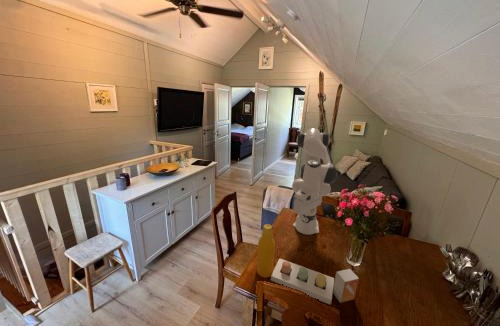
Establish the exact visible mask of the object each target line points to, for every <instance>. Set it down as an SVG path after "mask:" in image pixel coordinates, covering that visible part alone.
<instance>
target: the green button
mask: <svg viewBox="0 0 500 326" xmlns="http://www.w3.org/2000/svg"><path fill="white" fill-rule="evenodd" d="M303 267H304V266H302V267H301V268H299V273H298V278H297V279H298V280H301V281H303V282H307V280H308V279H307V276H308V270H307V269H306V268H307V267H305V268H303Z"/></svg>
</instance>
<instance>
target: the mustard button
mask: <svg viewBox="0 0 500 326" xmlns="http://www.w3.org/2000/svg"><path fill="white" fill-rule="evenodd" d="M324 275H325V274H324ZM324 275H323V273H321V274H318V275H317V277H316V282H315V286H316V287H319V288H321V289H324V288H326V286H325V284H326V277H325V276H324Z"/></svg>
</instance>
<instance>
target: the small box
mask: <svg viewBox="0 0 500 326" xmlns="http://www.w3.org/2000/svg"><path fill="white" fill-rule="evenodd" d="M359 280H360V278H359V277H358V276H357V274H355V272H354V271H353V270H352V269H351V268H347V269H342V270H339V271H338V270H337V271H336V273H335V278H334V284H333V293H332V295H334V296H335V298H336V299H337V300H338V302H339V303H340V304H342V303H346V302H348V301H353V300H354V299H355V296H356V292H357V288H358V284H359Z"/></svg>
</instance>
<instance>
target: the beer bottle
mask: <svg viewBox="0 0 500 326" xmlns="http://www.w3.org/2000/svg"><path fill="white" fill-rule="evenodd" d="M275 252H276V243H275V238H274V237H273V226H272V225H271V224H269V223H266V224H264V225H263V229H262V234H261V236H260V238H259V239H258V242H257V255H256V256H257V259H256V272H257V275H259V276H260V277H262V278H264V279H265V278H269V277H270V278H271V275H272V273H273V271H274V268H275V267H274V266H275V265H274V264H275Z"/></svg>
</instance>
